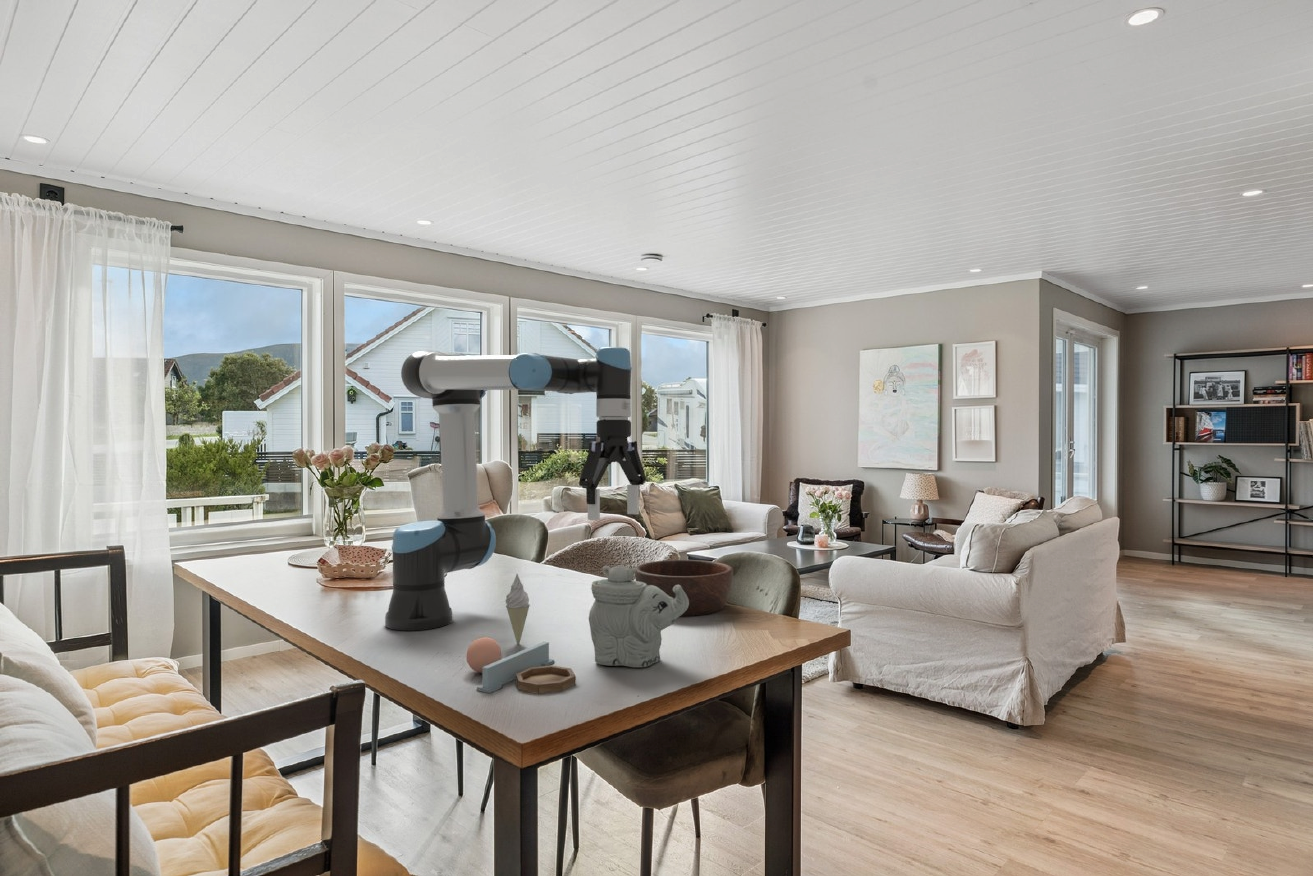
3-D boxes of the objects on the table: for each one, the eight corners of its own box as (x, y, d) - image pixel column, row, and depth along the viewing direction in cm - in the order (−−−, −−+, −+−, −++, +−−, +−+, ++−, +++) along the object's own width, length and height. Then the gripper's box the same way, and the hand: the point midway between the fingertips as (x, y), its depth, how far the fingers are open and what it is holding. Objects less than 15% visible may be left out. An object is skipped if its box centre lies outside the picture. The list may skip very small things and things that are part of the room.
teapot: (692, 666, 145) (691, 567, 145) (625, 681, 136) (625, 576, 136) (644, 646, 158) (643, 556, 158) (580, 659, 150) (580, 563, 150)
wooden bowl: (614, 611, 190) (614, 570, 190) (670, 593, 211) (670, 556, 211) (700, 625, 176) (699, 580, 176) (750, 604, 197) (750, 565, 197)
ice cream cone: (507, 641, 163) (506, 571, 163) (531, 640, 163) (530, 570, 163) (504, 647, 158) (504, 575, 158) (529, 647, 158) (528, 575, 158)
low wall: (476, 690, 132) (476, 667, 132) (541, 660, 148) (541, 640, 148) (490, 693, 130) (490, 669, 130) (554, 663, 147) (554, 642, 147)
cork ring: (505, 687, 133) (505, 678, 133) (539, 671, 142) (539, 663, 142) (552, 696, 129) (552, 687, 129) (584, 679, 137) (584, 670, 137)
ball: (459, 674, 140) (458, 640, 140) (482, 665, 146) (481, 631, 146) (486, 679, 137) (486, 644, 137) (508, 669, 143) (508, 635, 143)
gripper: (589, 418, 152) (589, 523, 152) (661, 419, 173) (661, 512, 173) (561, 418, 157) (562, 521, 157) (634, 419, 177) (635, 510, 177)
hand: (614, 517), depth 165 cm, fingers open, 13 cm apart
